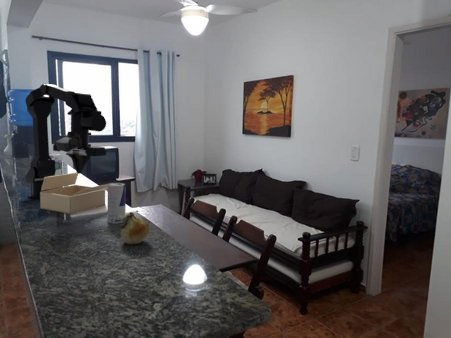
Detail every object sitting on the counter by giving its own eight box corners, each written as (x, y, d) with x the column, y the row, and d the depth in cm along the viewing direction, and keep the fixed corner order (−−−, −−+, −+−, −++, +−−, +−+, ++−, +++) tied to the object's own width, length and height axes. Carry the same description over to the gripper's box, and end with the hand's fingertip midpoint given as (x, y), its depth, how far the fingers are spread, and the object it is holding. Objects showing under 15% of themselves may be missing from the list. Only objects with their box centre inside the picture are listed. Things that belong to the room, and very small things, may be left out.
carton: (39, 209, 114) (39, 191, 114) (76, 199, 130) (76, 184, 129) (71, 214, 110) (71, 197, 109) (105, 204, 125) (105, 188, 124)
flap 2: (83, 189, 108) (83, 189, 108) (113, 182, 122) (114, 183, 122) (72, 194, 110) (73, 195, 110) (104, 187, 124) (104, 188, 124)
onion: (121, 249, 82) (121, 218, 81) (117, 239, 90) (118, 210, 89) (151, 246, 86) (152, 216, 84) (146, 236, 93) (146, 209, 92)
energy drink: (128, 220, 107) (129, 183, 105) (118, 224, 102) (118, 186, 100) (114, 218, 108) (115, 182, 107) (103, 222, 103) (103, 184, 102)
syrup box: (54, 186, 152) (54, 155, 150) (43, 185, 153) (42, 154, 151) (63, 184, 158) (62, 154, 156) (52, 183, 159) (51, 153, 157)
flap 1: (41, 190, 114) (41, 190, 114) (75, 184, 128) (74, 183, 128) (45, 177, 113) (44, 177, 113) (78, 172, 127) (78, 172, 127)
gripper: (39, 126, 111) (39, 172, 113) (84, 131, 105) (83, 180, 107) (65, 127, 121) (65, 169, 123) (107, 131, 115) (106, 175, 117)
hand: (79, 173), depth 117 cm, fingers closed
